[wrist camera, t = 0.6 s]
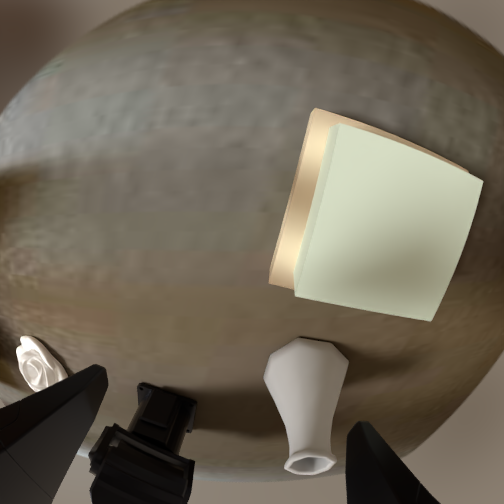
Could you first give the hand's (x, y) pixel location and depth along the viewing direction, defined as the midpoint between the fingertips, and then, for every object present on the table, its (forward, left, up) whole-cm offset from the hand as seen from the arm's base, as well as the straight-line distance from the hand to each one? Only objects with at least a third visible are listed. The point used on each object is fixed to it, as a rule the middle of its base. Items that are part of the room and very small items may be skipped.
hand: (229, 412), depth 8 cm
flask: (-9, -6, -13) cm, 17 cm away
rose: (-22, +24, -13) cm, 35 cm away
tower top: (+6, -7, -11) cm, 14 cm away
